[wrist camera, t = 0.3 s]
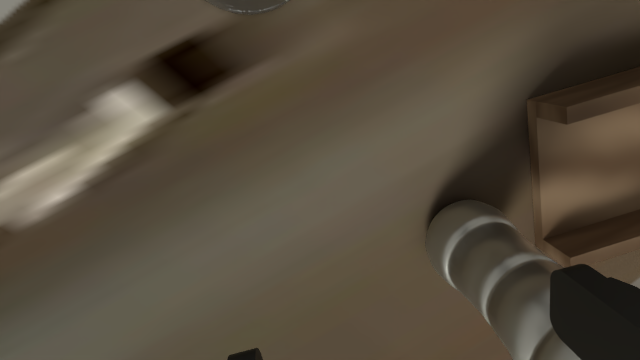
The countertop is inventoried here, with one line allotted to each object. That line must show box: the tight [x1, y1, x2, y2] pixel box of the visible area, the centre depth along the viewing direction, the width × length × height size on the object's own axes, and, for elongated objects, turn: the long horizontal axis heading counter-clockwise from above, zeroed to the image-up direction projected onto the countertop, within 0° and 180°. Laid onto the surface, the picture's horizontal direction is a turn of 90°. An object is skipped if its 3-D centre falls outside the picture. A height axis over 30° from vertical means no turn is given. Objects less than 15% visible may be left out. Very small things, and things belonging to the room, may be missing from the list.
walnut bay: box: [527, 67, 640, 267], centre depth 29 cm, size 13×15×4 cm
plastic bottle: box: [425, 200, 581, 360], centre depth 22 cm, size 6×7×20 cm
